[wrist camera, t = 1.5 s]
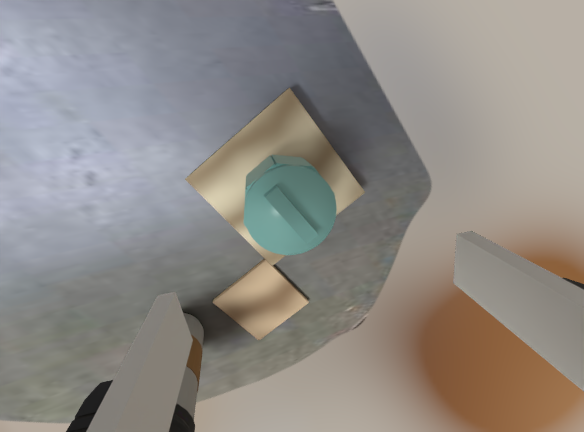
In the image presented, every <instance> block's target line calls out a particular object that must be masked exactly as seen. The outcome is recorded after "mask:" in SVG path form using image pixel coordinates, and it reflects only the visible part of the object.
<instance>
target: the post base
mask: <svg viewBox="0 0 584 432" xmlns="http://www.w3.org/2000/svg"><path fill="white" fill-rule="evenodd" d="M270 155H271V156H272V155H283V156H293V157H302V158H304V159H305V160H306V161H307V162H309V163H310V164H311V165H312V166H313V167H315V169H316V170H317V171H318V173H319V174H320V175H321V177H322V178H323V179H324V180H325V181H326V182H327V183H328V184H329V186H330V187H331V189H332V191H333V192H334V193H335V194H334V195H335V199H336V208H337V211H336V215H337V214H338V213H340V212H341V211H342V210H343V209H345V208H346V207H347V206H349V205H350V204H351V203H352V202H354V201H355V200H356V199H357V198H359V197H360V196H361V195H362V194H364V193H365V192H364V190H363V189H362V188H361V186H360V185H359V183H358V182H357V181H356V179H355V178H354V176H353V175H352V174H351V172H350V171H349V170H348V168H347V167H346V165H345V164H344V163H343V161H342V160H341V158H340V157H339V156H338V154H337V153H336V151H335V150H334V149H333V147H332V146H331V145H330V143H329V142H328V140H327V139H326V138H325V136H324V135H323V133H322V132H321V131H320V129H319V128H318V127H317V125H316V124H315V122H314V121H313V120H312V118H311V117H310V115H309V114H308V113H307V111H306V110H305V108H304V107H303V106H302V104H301V103H300V102H299V100H298V99H297V97H296V96H295V95H294V93H293V92H292V90H291V89H290V88H288V89H287V90H286V91H285V92H283V93H282V94H281V95H280V96H279V97H278V98H277V99H275V100H274V101H273V102H272V103H271V104H270V105H269V106H268V107H266V108H265V109H264V110H263V111H262V112H261V113H260V114H258V115H257V116H256V117H255V118H254V119H253V120H252V121H250V122H249V123H248V124H247V125H246V126H245V127H244V128H242V129H241V130H240V131H239V132H238V133H237V134H236V135H234V136H233V137H232V138H231V139H230V140H229V141H228V142H226V143H225V144H224V145H223V146H222V147H221V148H220V149H219V150H217V151H216V152H215V153H214V154H213V155H212V156H211V157H209V158H208V159H207V160H206V161H205V162H204V163H203V164H201V165H200V166H199V167H198V168H197V169H196V170H195V171H193V172H192V173H191V174H190V175H189V176H188V177H187V178H186V179H185V180H186V181H187V182H188V183H189V184H190V185H191V186H192V187H193V188H194V189H195V190H196V191H198V192H199V193H200V194H201V195H202V196H203V197H204V198H205V199H206V200H207V201H208V202H209V203H210V204H211V205H212V206H213V207H214V208H215V209H216V210H217V211H218V212H219V213H220V214H221V215H222V216H223V217H224V218H225V219H226V220H227V221H228V222H229V223H230V224H231V225H232V226H233V227H234V228H235V229H236V230H237V231H238V232H239V233H240V234H241V235H242V236H243V237H244V238H245V239H246V240H247V241H248V242H249V243H250V244H251V245H252V246H253V247H254V248H255V249H256V250H257V251H258V252H259V253H260V254H261V255H262V256H263V257H264V258H265V259H266V260H267V261H268V262H269V263H270V264H271V265H272V266H273V265H274V264H275V263H277V262H278V261H279V260H280V259H282V258H283V257H284V256H285V255H281V254H276V253H273V252H270V251H268V250H266V249H264V248H263V247H261V246H260V245H259V244H258V243H257V242H256V241H255V240H254V239H253V238H252V237H251V235H250V233H249V231H248V229H247V228H246V227H245V226H244V224H243V223H244V205H245V187H246V176H247V174H248V173H250V172H251V171H252V170H253V169H254V168H255V167H257V166H258V165H259V164H260V163H261V162H262V161H264V160H265V159H266V158H267V157H268V156H270Z"/></svg>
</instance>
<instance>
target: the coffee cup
mask: <svg viewBox="0 0 584 432" xmlns="http://www.w3.org/2000/svg"><path fill="white" fill-rule="evenodd" d="M183 314H184V317H185V320H186V323H187V325H188V328H189V331H190V334H191V336H192V339H193V341H192V345H191V349H190V353H189V357H188V360H187V364H186V368H185V372H184V376H183V379H182V383H181V387H180V391H179V395H178V398H177V402H176V406H175V410H174V414H173V417H172V421H171V425H170V429H169V432H194V430H195V424H194V413H195V405H196V396H197V391H198V386H199V377H200V369H201V360H202V346H203V338H204V330H203V327H202V325H201V323H200V322H199V320H198V319H197V318H196V317H194V316H192V315H190V314H187V313H183Z"/></svg>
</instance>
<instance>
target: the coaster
mask: <svg viewBox="0 0 584 432" xmlns="http://www.w3.org/2000/svg"><path fill="white" fill-rule="evenodd" d="M213 303H214V304H215V305H216V306H218V307H219V308H220V309H221V310H223V311H224V312H225V313H226V314H227V315H229V316H230V317H231V318H232V319H233V320H235V321H236V322H237V323H238V324H239V325H241V326H242V327H243V328H244V329H246V330H247V331H248V332H249V333H250V334H252V335H253V336H254V337H255V338H256V339H258V340H260V339H261V338H263V337H264V336H265V335H267V334H268V333H269V332H271V331H272V330H273V329H275V328H276V327H277V326H279V325H280V324H281V323H283V322H284V321H285V320H287V319H288V318H289V317H291V316H292V315H293V314H294V313H296V312H297V311H298V310H300V309H301V308H302V307H304V306H305V305H306V304H308V303H309V302H308V299H307V298H306V297H305V296H304V295H303V294H302V293H301V292H300V291H299V290H298V289H297V288H296V287H295V286H293V285H292V284H291V283H290V282H289V281H288V280H287V279H286V278H285V277H284V276H283V275H282V274H281V273H280V272H279V271H278V270H277V269H276V268H275V267H274V266H272V265H271V264H270V263H269V262H268V261H267V260H266V259H263V260H262V261H261V262H260V263H258V264H257V265H256V266H255V267H253V268H252V269H251V270H250V271H248V272H247V273H246V274H245V275H243V276H242V277H241V278H240V279H238V280H237V281H236V282H235V283H233V284H232V285H231V286H230V287H228V288H227V289H226V290H225V291H223V292H222V293H221V294H220V295H218V296H217V297H216V298H215V299H213Z"/></svg>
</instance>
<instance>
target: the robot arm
mask: <svg viewBox="0 0 584 432" xmlns="http://www.w3.org/2000/svg"><path fill="white" fill-rule="evenodd" d="M453 283H454V284H455V285H457V286H458V287H459V288H460V289H461V290H463V291H464V292H465V293H466V294H467V295H468V296H470V297H471V298H472V299H473V300H474V301H476V302H477V303H478V304H479V305H480V306H482V307H483V308H484V309H485V310H487V311H488V312H489V313H490V314H491V315H493V316H494V317H495V318H496V319H497V320H499V321H500V322H501V323H502V324H503V325H505V326H506V327H507V328H508V329H509V330H511V331H512V332H513V333H514V334H515V335H517V336H518V337H519V338H520V339H521V340H523V341H524V342H525V343H526V344H528V345H529V346H530V347H531V348H532V349H533V350H535V351H536V352H537V353H538V354H539V355H541V356H542V357H543V358H544V359H545V360H547V361H548V362H549V363H550V364H551V365H553V366H554V367H555V368H556V369H557V370H559V371H560V372H561V373H562V374H563V375H565V376H566V377H567V378H568V379H570V380H571V381H572V382H573V383H574V384H576V385H577V386H578V387H579V388H580V389H582V390H583V391H584V284H581V283H579V282H575V281H572V280H569V279H566V278H561V277H559V276H557V275H555V274H553V273H551V272H549V271H547V270H545V269H543V268H541V267H540V266H538V265H536V264H534V263H532V262H530V261H528V260H526V259H524V258H522V257H520V256H519V255H517V254H515V253H513V252H511V251H509V250H507V249H505V248H503V247H501V246H499V245H498V244H496V243H493V242H492V241H490V240H488V239H486V238H484V237H482V236H481V235H478V234H477V233H475V232H473V231H469V232H464V233H459V234H457V236H456V251H455V266H454V281H453ZM192 341H193V339H192V336H191V334H190V331H189V328H188V325H187V323H186V320H185V317H184V314H183V311H182V309H181V306H180V303H179V300H178V298H177V295H176V292H172V293H167V294H162V295H158V296H157V298H156V300H155V301H154V303H153V305H152V307H151V309H150V311H149V313H148V315H147V317H146V319H145V320H144V322H143V324H142V326H141V328H140V330H139V332H138V334H137V336H136V338H135V340H134V341H133V343H132V345H131V347H130V349H129V351H128V353H127V355H126V357H125V359H124V361H123V362H122V364H121V366H120V368H119V370H118V372H117V374H116V376H115V378H114V380H111V381H106V382H102V383H100V384H99V385H98V386H97V387H96V388H95V389H94V390H93V391H92V392H91V394H90V395H89V396H88V397H87V398H86V399H85V400H84V402H83V404H82V406H81V407H80V409H79V411H78V412H77V414H76V416H75V420H73V421H72V423H71V424H70V426H69V428H68V429H67V431H66V432H169V429H170V425H171V421H172V417H173V414H174V410H175V406H176V402H177V398H178V395H179V391H180V387H181V383H182V379H183V376H184V372H185V368H186V364H187V360H188V357H189V353H190V349H191V345H192Z"/></svg>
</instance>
